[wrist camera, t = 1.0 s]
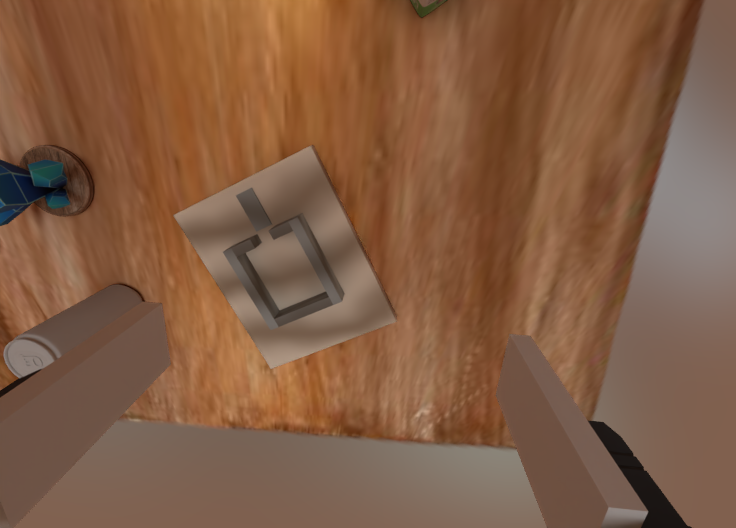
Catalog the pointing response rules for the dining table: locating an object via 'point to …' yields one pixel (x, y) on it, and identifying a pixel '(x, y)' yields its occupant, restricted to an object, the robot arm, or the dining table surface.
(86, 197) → the gemstone
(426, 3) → the ink box
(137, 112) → the dining table surface
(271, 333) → the holder board
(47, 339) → the beverage can
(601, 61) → the dining table surface
